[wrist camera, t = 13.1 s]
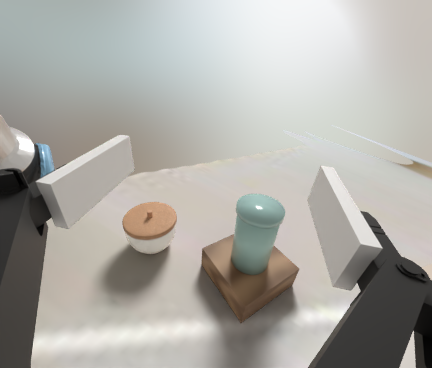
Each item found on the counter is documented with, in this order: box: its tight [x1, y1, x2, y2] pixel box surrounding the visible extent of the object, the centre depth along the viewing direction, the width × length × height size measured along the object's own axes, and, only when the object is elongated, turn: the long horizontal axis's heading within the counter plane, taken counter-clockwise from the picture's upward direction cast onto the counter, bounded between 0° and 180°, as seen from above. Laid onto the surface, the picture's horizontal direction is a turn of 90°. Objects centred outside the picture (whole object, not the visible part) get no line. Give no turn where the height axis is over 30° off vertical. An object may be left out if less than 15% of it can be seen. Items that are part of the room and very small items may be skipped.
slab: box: [202, 234, 299, 323], centre depth 41 cm, size 13×13×5 cm
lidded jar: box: [123, 202, 177, 254], centre depth 45 cm, size 11×11×9 cm
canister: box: [231, 194, 285, 275], centre depth 37 cm, size 8×8×12 cm
